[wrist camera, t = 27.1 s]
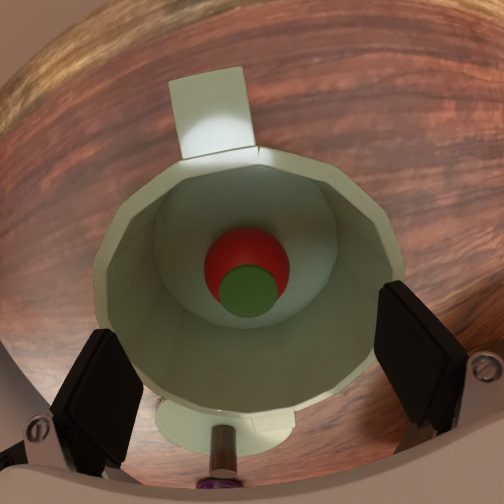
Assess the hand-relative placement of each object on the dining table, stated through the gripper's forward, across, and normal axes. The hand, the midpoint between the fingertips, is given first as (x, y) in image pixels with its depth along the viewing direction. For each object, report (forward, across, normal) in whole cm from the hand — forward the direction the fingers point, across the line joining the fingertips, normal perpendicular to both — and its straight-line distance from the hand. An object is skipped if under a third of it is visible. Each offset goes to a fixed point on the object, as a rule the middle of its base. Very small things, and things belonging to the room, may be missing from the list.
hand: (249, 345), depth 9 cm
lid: (+8, +5, +17) cm, 20 cm away
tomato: (+8, 0, 0) cm, 8 cm away
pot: (+9, 0, 0) cm, 9 cm away
